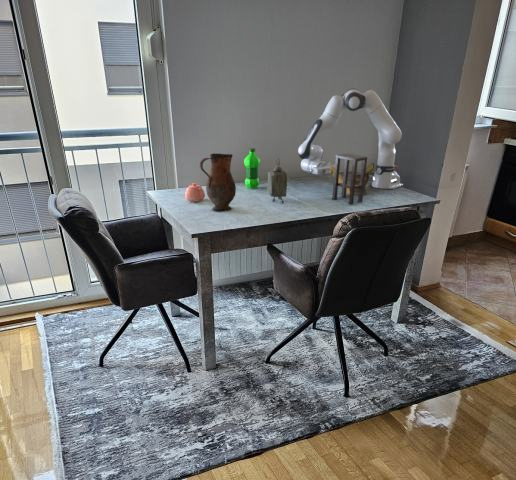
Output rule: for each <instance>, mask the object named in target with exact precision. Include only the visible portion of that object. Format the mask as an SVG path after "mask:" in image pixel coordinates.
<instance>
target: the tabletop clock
mask: <svg viewBox="0 0 516 480" xmlns="http://www.w3.org/2000/svg"><path fill="white" fill-rule="evenodd" d="M276 161H277V162H276V166H275V167H274V168H273V169H272V170H270V171H268V172H267V193H268V195H269V196H270V197H273V198H272V199H271V201H272V202H275V201H276V199H275V198H278V200H281V204H284V203H285V201H284V200H283V198H284V197H287V190H288V175H287V172H286V170H284V169H282V167H281V166H280V158H278V157H277V158H276Z"/></svg>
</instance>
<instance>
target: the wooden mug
mask: <svg viewBox="0 0 516 480" xmlns="http://www.w3.org/2000/svg"><path fill="white" fill-rule="evenodd" d="M374 168H375V164H374V162H373V163H371V164H369V165H368V166H366V174H365V182H364V191H363V196H364V195H366V194H367V185H368V182H369V179H370V174H371V173H372V171H374ZM360 176H361V174H356V182H355V185H360ZM354 195H357V196H358V195H359V188H355V192H354Z"/></svg>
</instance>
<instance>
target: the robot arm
mask: <svg viewBox="0 0 516 480" xmlns="http://www.w3.org/2000/svg"><path fill="white" fill-rule="evenodd" d="M360 109H363V110H364V112H365V113H366V115H367V116H368V118H369V120H370V121H371V123H372V125H373V126H374V127H375V129H376V130H377V131H378V132H377V135H378V152H377V153H378V155H377V163H376V165H375V172H374V175H373V177H372V182H371V186H372V187H373V188H376V189H382V190H383V189H384V190H395V189H398V188H401V187H403V186H404V184H403V183H402V182H401V177H400V175H399V174H398V173H397V171H396V170H397V169H398V168H399V165H397V164H395V160H396V144H398V143H399V142H400V141H401V139H402V136H403V133H402V130H401V129H400V127H399V126H398V124H397V123H396V121H395V119H393V117H392V116H391V115H390V113H389V111H388V109H387V108H386V106H385V104H384V103H383V101H382V99H381V98H380V96H379V95H378V94H377V93H376V92H375V91H374V90H372V89H368V90H366V91H365V92H363V93H361V92H360V91H359V89H357V88H350V89H347V90H346V91H345V92H344V93H343V94H342V95H337V94H335V95H333V96H331V98H330V100H329V101H328V103H327V104H326V106H325V109H324V111H323V113H322V114H321V115H320V117H319V118H318V119H316V120H315V122H314V123H313V124H312V126H311V128H310V129H309V131H308V133H307V134H306V136H305V137H304V139H303V141H302V142H301V143H300V145H299V146H298V149H297V154H298V156H299V158H300V159H301V162H300V168H301V170H302V171H304V172H306V173H309V174H313V175H316V176H322V175H325V174H331V173H332V170H329V168H330V167H332V166H333V167H334V168H335V163H331V162H330V161H323V160H322V159H323V155H324V150H323V148H322V146H320V145H317V144H313V143H314V142H315V141H316V138H317V137H318V135H319V134H320V133H321V132H323V131H327V130H332V129H333V128H335V127H336V126H337V124H338V123H339V121H340V118H341V116H342V114H343V112H344V111H345V110H349V111H352V112H357V111H358V110H360Z"/></svg>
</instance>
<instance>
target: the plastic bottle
mask: <svg viewBox="0 0 516 480" xmlns="http://www.w3.org/2000/svg"><path fill="white" fill-rule="evenodd" d="M248 152H249V154H248V155H247V156H246V157H245V158H244V159H243V164H244V166H245V180H244V184H245V186H246V187H247V188H248V189H249V190H254V189H257V188H258V187H259V186H260V179H259V167H260V164H261V159H260V158H259V156H258V155H256V154H255V152H256V148H255V147H250V148H248Z"/></svg>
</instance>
